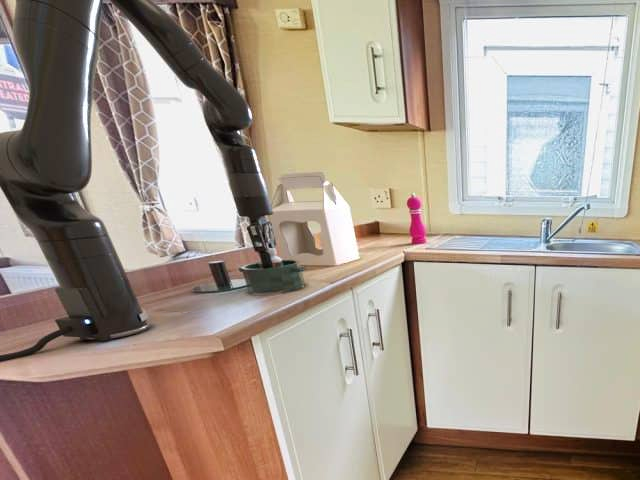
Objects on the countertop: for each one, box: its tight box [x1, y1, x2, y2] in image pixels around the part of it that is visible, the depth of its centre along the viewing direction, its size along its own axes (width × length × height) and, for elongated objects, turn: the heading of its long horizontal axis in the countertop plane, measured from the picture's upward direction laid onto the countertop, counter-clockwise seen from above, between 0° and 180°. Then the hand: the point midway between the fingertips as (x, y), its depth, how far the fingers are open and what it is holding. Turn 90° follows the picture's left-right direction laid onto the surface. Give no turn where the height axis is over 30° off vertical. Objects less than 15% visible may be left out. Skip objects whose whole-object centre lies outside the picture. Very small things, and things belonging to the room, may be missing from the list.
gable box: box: [269, 171, 360, 267], centre depth 142 cm, size 22×13×28 cm, turn 73°
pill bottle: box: [257, 248, 283, 269], centre depth 108 cm, size 5×5×10 cm
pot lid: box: [191, 260, 247, 294], centre depth 112 cm, size 14×14×7 cm
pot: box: [238, 259, 307, 295], centre depth 109 cm, size 13×19×6 cm
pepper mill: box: [406, 192, 427, 245], centre depth 181 cm, size 7×7×20 cm
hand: (271, 266), depth 108 cm, fingers closed on pill bottle, 5 cm apart
